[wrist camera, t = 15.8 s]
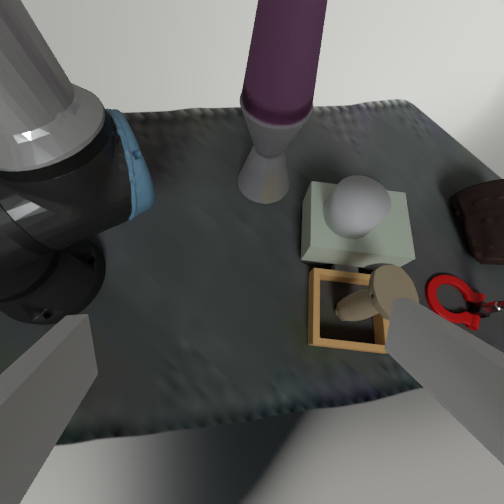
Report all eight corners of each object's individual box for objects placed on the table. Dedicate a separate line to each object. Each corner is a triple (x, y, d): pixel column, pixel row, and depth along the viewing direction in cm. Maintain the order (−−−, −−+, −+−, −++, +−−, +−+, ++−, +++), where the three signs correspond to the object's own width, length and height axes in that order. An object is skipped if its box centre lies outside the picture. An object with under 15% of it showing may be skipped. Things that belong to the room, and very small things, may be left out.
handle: (333, 333, 41) (384, 323, 27) (325, 294, 43) (367, 266, 29) (361, 329, 41) (426, 318, 27) (351, 291, 43) (406, 263, 29)
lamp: (294, 169, 53) (433, -263, 16) (282, 210, 49) (429, -238, 12) (246, 155, 53) (269, -291, 16) (230, 195, 49) (212, -277, 12)
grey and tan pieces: (295, 343, 40) (320, 339, 28) (300, 206, 49) (320, 159, 37) (394, 354, 40) (462, 355, 28) (379, 216, 50) (426, 172, 37)
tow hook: (417, 307, 44) (472, 335, 42) (481, 286, 32) (561, 325, 30) (430, 268, 47) (481, 294, 45) (493, 236, 35) (565, 269, 33)
